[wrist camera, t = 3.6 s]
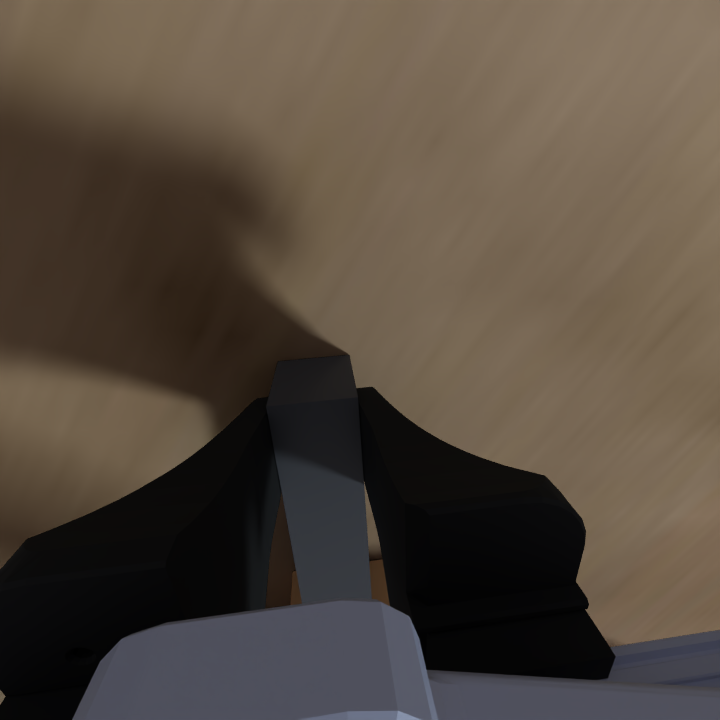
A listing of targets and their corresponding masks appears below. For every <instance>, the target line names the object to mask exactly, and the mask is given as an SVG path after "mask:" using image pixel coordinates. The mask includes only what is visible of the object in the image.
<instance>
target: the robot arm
mask: <svg viewBox="0 0 720 720" xmlns="http://www.w3.org/2000/svg"><path fill="white" fill-rule="evenodd" d="M356 390H357V395H358V405H359V419H360V434H361V448H362V463H363V478H364V482H365V486H366V490H367V494H368V497H369V501H370V505H371V509H372V513H373V516H374V520H375V524H376V528H377V532H378V537H379V541H380V547H381V553H382V560H383V566H384V572H385V578H386V585H387V591H388V598H389V604H390V606H388V605H386V604H384V603H382V602H380V601H379V600H377V599H354V598H338V599H331V600H324V601H317V602H310V603H302V604H295V605H288V606H281V607H274V608H267V609H265V605H266V592H267V580H268V569H269V557H270V550H271V544H272V538H273V533H274V528H275V523H276V517H277V512H278V507H279V502H280V497H281V485H280V480H279V474H278V469H277V464H276V458H275V453H274V447H273V442H272V436H271V431H270V425H269V420H268V414H267V409H266V405H267V401H268V397H265V398H257V399H256V400H254V401H253V402H252V403H251V404H250V405H249V406H248V407H247V408H246V409H245V410H244V411H243V412H242V413H241V414H240V415H239V416H238V417H237V418H236V419H234V420H233V421H232V422H231V423H230V424H229V425H228V426H227V427H226V428H225V429H224V430H223V431H221V432H220V433H219V434H218V435H217V436H216V437H214V438H213V439H212V440H211V441H210V442H208V443H207V444H206V445H205V446H204V447H203V448H201V449H200V450H199V451H197V452H196V453H195V454H193V455H192V456H191V457H189V458H188V459H186V460H185V461H184V462H182V463H181V464H179V465H178V466H176V467H175V468H173V469H172V470H170V471H169V472H167V473H165V474H164V475H162V476H160V477H158V478H157V479H155V480H153V481H152V482H150V483H148V484H147V485H145V486H143V487H141V488H140V489H138V490H136V491H134V492H132V493H130V494H129V495H127V496H125V497H123V498H121V499H119V500H117V501H115V502H113V503H111V504H109V505H106V506H104V507H102V508H100V509H98V510H96V511H94V512H92V513H89V514H87V515H85V516H83V517H80V518H78V519H75V520H73V521H71V522H68V523H66V524H63V525H61V526H58V527H56V528H54V529H51V530H49V531H46V532H44V533H41V534H39V535H36V536H34V537H31V538H28V539H27V540H26V541H25V542H24V543H23V544H22V545H21V546H20V548H19V549H18V550H17V551H16V552H15V553H14V554H13V556H12V557H11V558H10V559H9V560H8V561H7V562H6V564H5V565H4V566H3V567H2V568H1V569H0V690H1V691H2V692H3V694H4V695H5V696H6V697H5V699H4V700H3V702H2V703H1V705H0V720H720V630H715V631H709V632H703V633H696V634H690V635H684V636H678V637H671V638H665V639H659V640H652V641H646V642H640V643H633V644H627V645H621V646H615V647H609V645H608V644H607V642H606V641H605V639H604V638H603V636H602V634H601V633H600V631H599V630H598V628H597V627H596V625H595V624H594V622H593V621H592V619H591V618H590V616H589V615H588V613H587V612H586V610H585V609H588V606H589V603H588V600H587V597H586V596H585V594H584V593H583V592H582V590H581V589H580V587H579V586H578V584H577V583H576V578H577V574H578V570H579V566H580V562H581V558H582V554H583V550H584V546H585V537H586V530H585V527H584V523H583V520H582V518H581V517H580V516H579V514H578V513H577V512H576V511H575V510H574V508H573V507H572V506H571V505H570V503H569V502H568V501H567V500H566V498H565V497H564V496H563V495H562V493H561V492H560V491H559V490H558V489H557V488H556V487H555V486H554V485H553V484H552V483H551V481H550V480H549V479H548V478H547V477H546V476H544V475H540V474H536V473H532V472H528V471H524V470H520V469H516V468H512V467H508V466H505V465H501V464H498V463H495V462H492V461H489V460H486V459H483V458H480V457H478V456H475V455H473V454H470V453H468V452H465V451H463V450H461V449H459V448H456V447H454V446H452V445H450V444H448V443H446V442H444V441H442V440H440V439H438V438H437V437H435V436H433V435H431V434H430V433H428V432H426V431H425V430H423V429H421V428H420V427H418V426H417V425H416V424H414V423H413V422H411V421H410V420H409V419H407V418H406V417H405V416H404V415H402V414H401V413H400V412H399V411H398V410H396V409H395V408H394V407H393V406H392V405H391V404H390V403H389V402H388V401H387V400H386V399H385V398H384V397H383V396H382V395H381V394H380V393H379V392H378V391H377V390H376V389H374V388H373V387H365V388H356Z"/></svg>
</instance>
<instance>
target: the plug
mask: <svg viewBox="0 0 720 720" xmlns="http://www.w3.org/2000/svg"><path fill="white" fill-rule="evenodd" d="M266 409H267V414H268V420H269V425H270V431H271V436H272V442H273V447H274V453H275V458H276V464H277V469H278V474H279V480H280V485H281V491H282V496H283V502H284V507H285V513H286V518H287V524H288V529H289V535H290V540H291V546H292V551H293V557H294V562H295V567H296V571H293V574H292V588H291V602H290V605H295V604H302V603H310V602H317V601H324V600H331V599H338V598H354V599H377V600H379V601H380V602H382V603H384V604H386V605H388V606H390V604H389V598H388V591H387V585H386V578H385V572H384V566H383V560H382V559H381V560H374V561H369V551H368V536H367V521H366V507H365V492H364V478H363V463H362V448H361V434H360V419H359V405H358V395H357V390H356V385H355V380H354V375H353V370H352V366H351V361H350V356H349V355H342V356H331V357H320V358H309V359H299V360H288V361H278V363H277V367H276V370H275V374H274V378H273V382H272V386H271V390H270V393H269V397H268V401H267V405H266Z"/></svg>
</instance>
